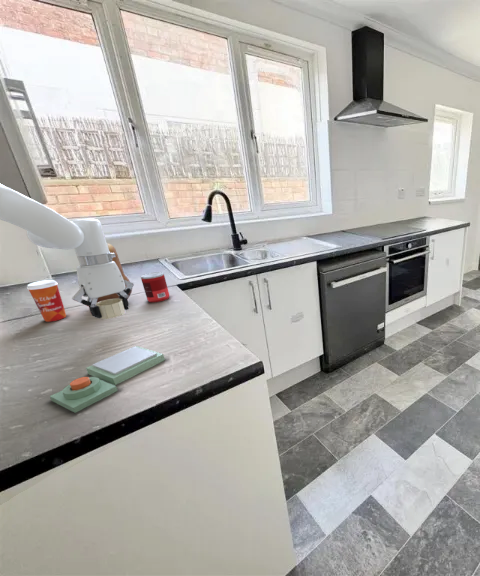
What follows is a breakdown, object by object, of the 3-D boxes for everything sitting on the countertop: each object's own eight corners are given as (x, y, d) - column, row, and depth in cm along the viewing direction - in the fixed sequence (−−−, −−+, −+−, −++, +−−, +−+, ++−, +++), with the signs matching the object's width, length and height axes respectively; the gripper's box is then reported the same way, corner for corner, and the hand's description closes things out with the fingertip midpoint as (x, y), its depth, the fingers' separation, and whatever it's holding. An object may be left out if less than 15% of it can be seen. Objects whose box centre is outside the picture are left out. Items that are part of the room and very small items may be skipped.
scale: (115, 385, 75) (112, 376, 74) (88, 374, 80) (84, 365, 79) (165, 360, 85) (162, 352, 85) (138, 351, 90) (136, 343, 89)
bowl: (106, 320, 96) (101, 307, 95) (94, 317, 99) (89, 304, 98) (130, 312, 102) (126, 300, 101) (118, 309, 105) (114, 297, 104)
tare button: (94, 384, 71) (91, 378, 71) (76, 392, 69) (74, 386, 68) (86, 380, 73) (84, 375, 72) (69, 388, 70) (66, 383, 69)
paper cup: (35, 324, 109) (19, 287, 104) (47, 316, 115) (33, 281, 111) (64, 320, 112) (50, 284, 107) (74, 312, 118) (61, 278, 114)
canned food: (173, 295, 135) (167, 271, 131) (164, 301, 128) (157, 276, 124) (154, 296, 134) (147, 272, 130) (143, 303, 126) (136, 277, 123)
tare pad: (117, 390, 73) (114, 380, 72) (75, 413, 66) (70, 401, 65) (94, 381, 77) (90, 370, 76) (51, 401, 70) (46, 390, 69)
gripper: (120, 253, 104) (134, 302, 110) (51, 265, 89) (71, 321, 94) (133, 255, 101) (147, 305, 107) (65, 267, 86) (85, 325, 92)
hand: (111, 312), depth 100 cm, fingers closed on bowl, 6 cm apart
